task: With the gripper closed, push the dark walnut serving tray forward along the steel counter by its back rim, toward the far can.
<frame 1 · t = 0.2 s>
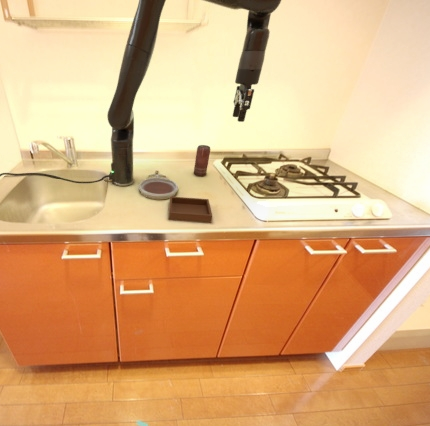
hand: (237, 119, 85), 29 cm above the worktop, tool pointing down, fingers open, 8 cm apart
tray: (188, 212, 84), on the worktop
can: (199, 174, 113), on the worktop
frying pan: (157, 185, 103), on the worktop
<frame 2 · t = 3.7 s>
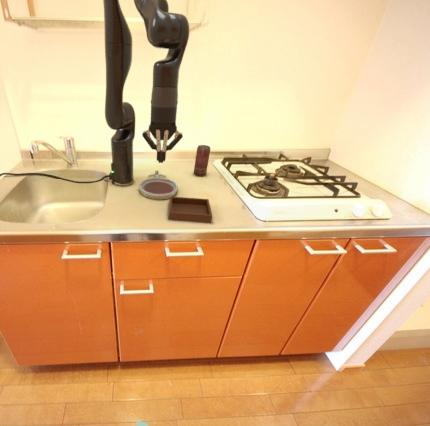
hand: (160, 161, 75), 19 cm above the worktop, tool pointing down, fingers closed
nothing on the worktop moved.
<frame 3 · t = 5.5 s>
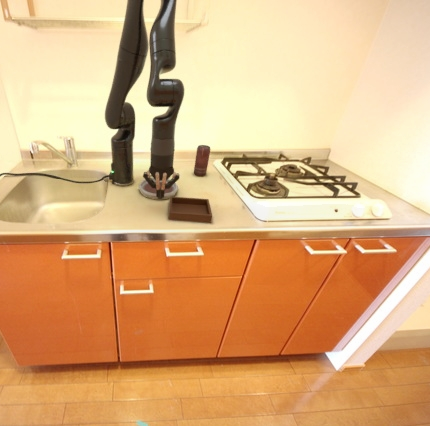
hand: (160, 197, 82), 5 cm above the worktop, tool pointing down, fingers closed
nothing on the worktop moved.
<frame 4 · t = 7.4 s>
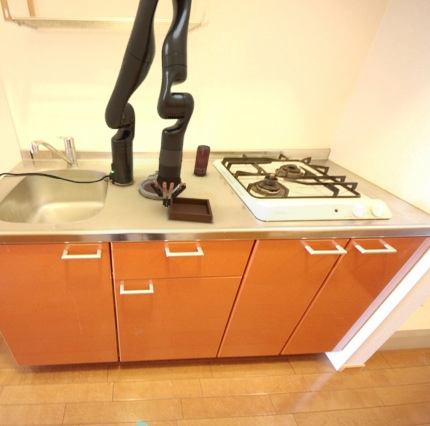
hand: (166, 206, 84), 2 cm above the worktop, tool pointing down, fingers closed
tray: (189, 212, 84), on the worktop, touching gripper
everything else where it was.
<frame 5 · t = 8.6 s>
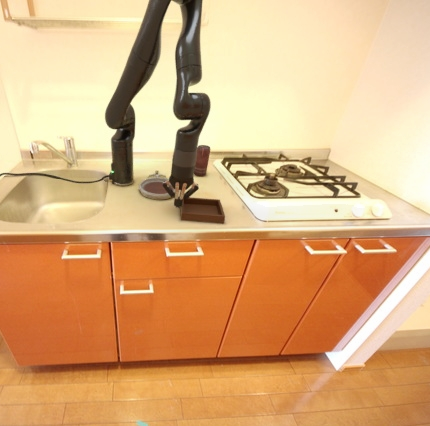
hand: (177, 206, 83), 2 cm above the worktop, tool pointing down, fingers closed
tray: (200, 212, 84), on the worktop, touching gripper
everything else where it was.
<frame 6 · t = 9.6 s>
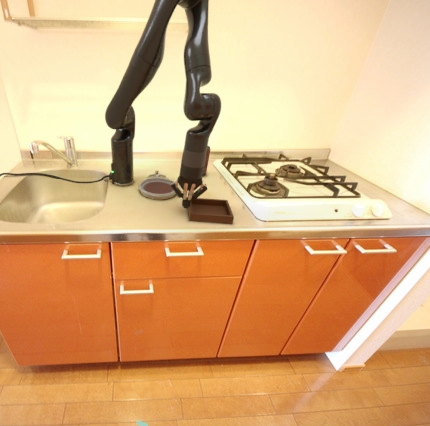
hand: (185, 207, 83), 2 cm above the worktop, tool pointing down, fingers closed
tray: (208, 213, 84), on the worktop, touching gripper
everything else where it was.
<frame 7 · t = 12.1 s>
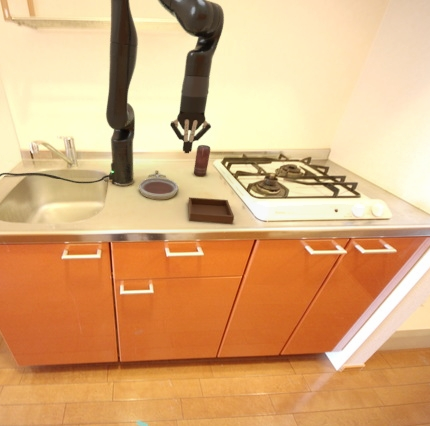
hand: (186, 152, 75), 21 cm above the worktop, tool pointing down, fingers closed
tray: (208, 213, 84), on the worktop
everything else where it was.
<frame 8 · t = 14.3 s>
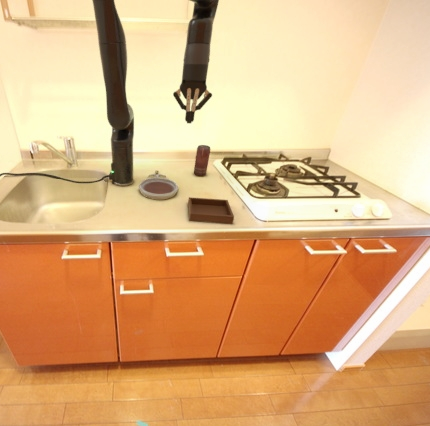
hand: (188, 122, 78), 29 cm above the worktop, tool pointing down, fingers closed
nothing on the worktop moved.
at the end: tray moved 7.2 cm from its start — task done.
